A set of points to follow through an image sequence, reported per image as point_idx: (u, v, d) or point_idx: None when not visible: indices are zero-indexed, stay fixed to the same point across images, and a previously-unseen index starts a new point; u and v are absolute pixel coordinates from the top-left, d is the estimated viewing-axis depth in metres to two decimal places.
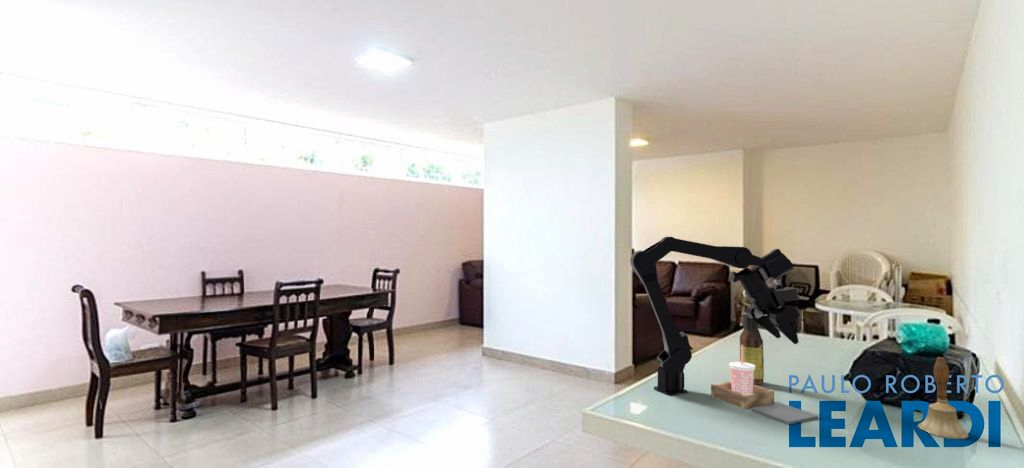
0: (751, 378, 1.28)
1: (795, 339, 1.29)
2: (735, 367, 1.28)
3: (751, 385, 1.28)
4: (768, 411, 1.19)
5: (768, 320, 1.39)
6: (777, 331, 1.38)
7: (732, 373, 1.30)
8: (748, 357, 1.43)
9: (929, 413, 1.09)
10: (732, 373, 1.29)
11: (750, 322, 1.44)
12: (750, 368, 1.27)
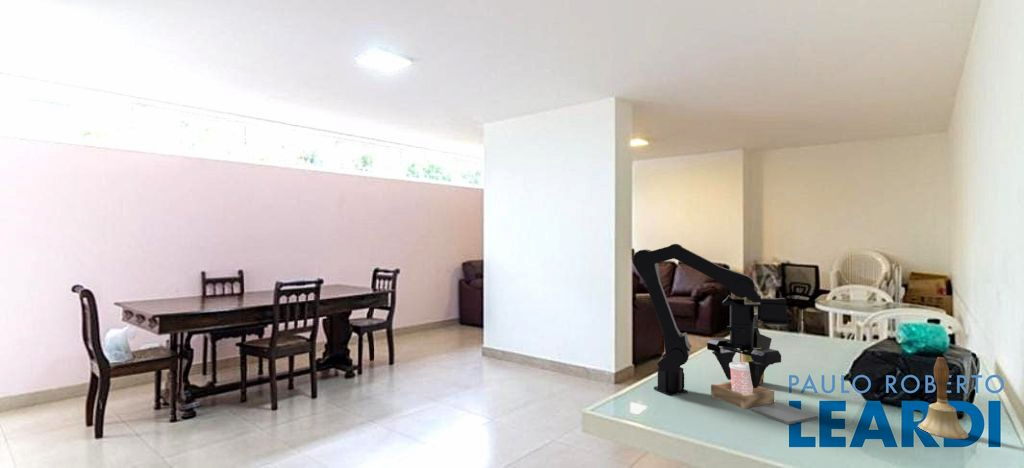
0: None
1: (757, 384, 1.26)
2: (735, 367, 1.28)
3: (751, 385, 1.28)
4: (768, 411, 1.19)
5: (728, 359, 1.34)
6: None
7: (732, 373, 1.30)
8: (748, 357, 1.43)
9: (929, 413, 1.09)
10: (732, 373, 1.29)
11: None
12: None
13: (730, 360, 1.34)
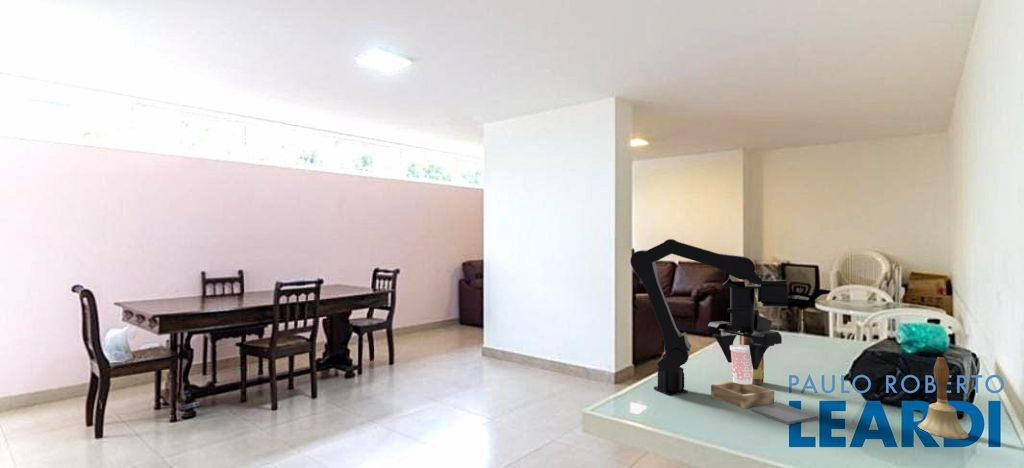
0: None
1: (757, 365, 1.26)
2: (737, 350, 1.28)
3: (752, 367, 1.28)
4: (768, 411, 1.19)
5: (729, 342, 1.34)
6: None
7: (733, 356, 1.29)
8: None
9: (929, 413, 1.09)
10: (734, 356, 1.29)
11: None
12: None
13: (731, 343, 1.34)
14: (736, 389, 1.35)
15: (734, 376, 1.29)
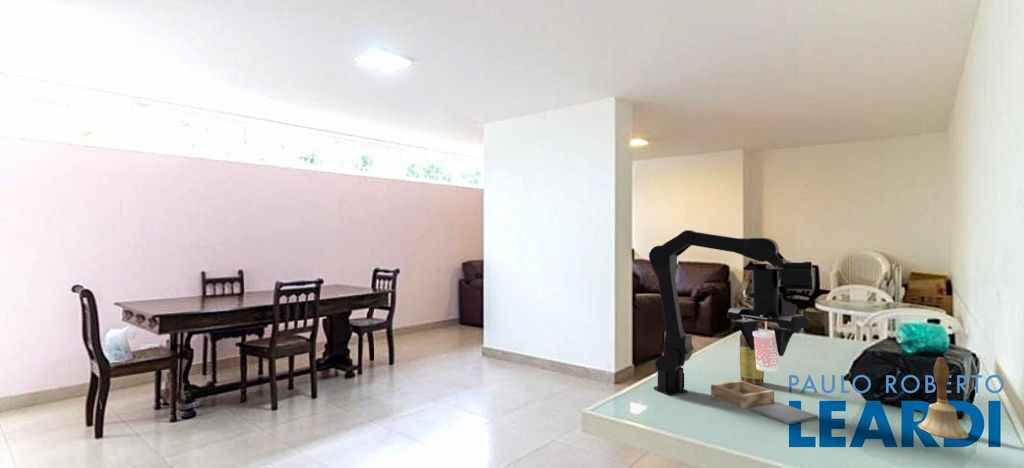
0: None
1: (783, 351, 1.20)
2: (763, 335, 1.21)
3: None
4: (768, 411, 1.19)
5: (751, 328, 1.28)
6: None
7: (758, 342, 1.23)
8: (748, 357, 1.43)
9: (929, 413, 1.09)
10: (759, 342, 1.22)
11: None
12: None
13: (753, 329, 1.28)
14: (736, 389, 1.35)
15: (759, 364, 1.23)
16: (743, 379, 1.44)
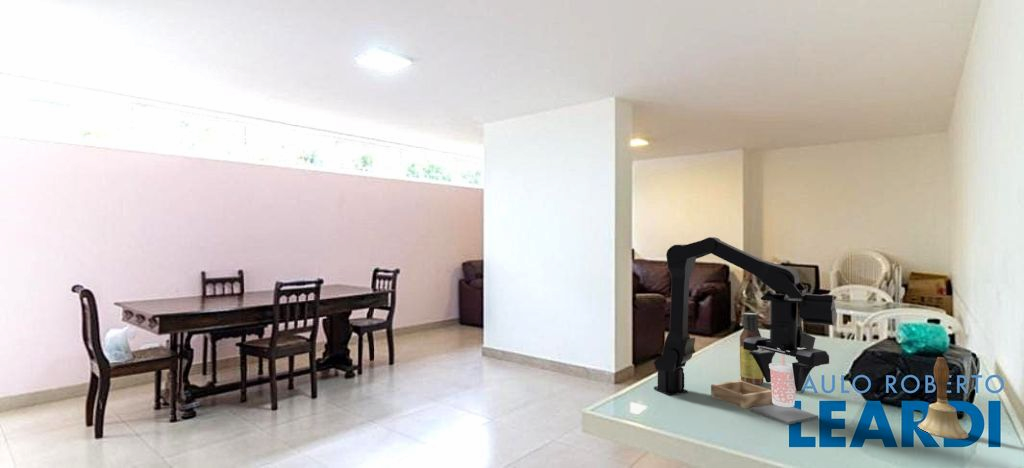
0: None
1: (801, 387, 1.15)
2: (780, 369, 1.17)
3: (795, 388, 1.18)
4: (768, 411, 1.19)
5: (767, 360, 1.23)
6: (770, 375, 1.23)
7: (775, 376, 1.18)
8: (748, 357, 1.43)
9: (929, 413, 1.09)
10: (775, 376, 1.18)
11: (750, 322, 1.44)
12: None
13: (770, 361, 1.23)
14: (736, 389, 1.35)
15: (775, 398, 1.18)
16: (743, 379, 1.44)
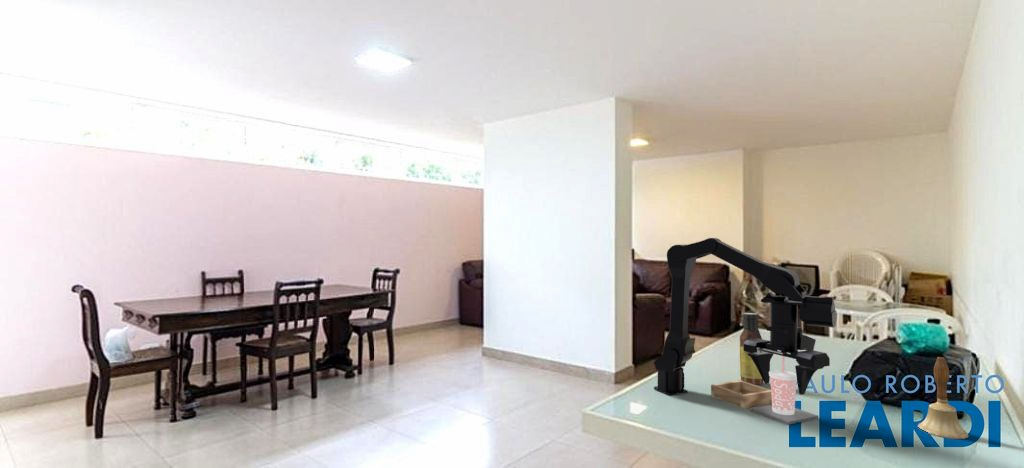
0: (786, 389, 1.17)
1: (804, 390, 1.14)
2: (769, 374, 1.20)
3: (788, 397, 1.17)
4: (768, 411, 1.19)
5: (765, 361, 1.24)
6: (768, 376, 1.23)
7: None
8: (748, 357, 1.43)
9: (929, 413, 1.09)
10: None
11: (750, 322, 1.44)
12: (783, 377, 1.16)
13: (768, 362, 1.24)
14: (736, 389, 1.35)
15: None
16: (743, 379, 1.44)
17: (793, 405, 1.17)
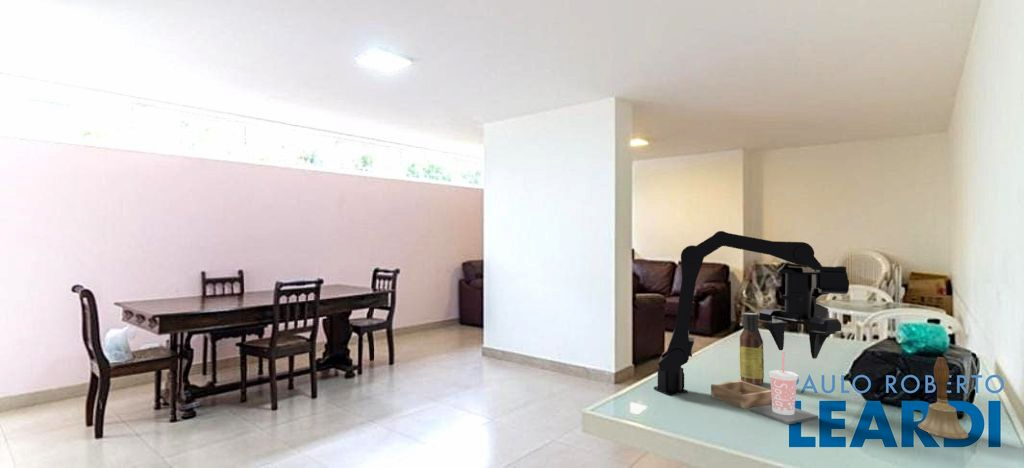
0: (786, 389, 1.17)
1: (816, 354, 1.22)
2: (769, 374, 1.20)
3: (788, 397, 1.17)
4: (768, 411, 1.19)
5: (780, 329, 1.31)
6: (782, 343, 1.31)
7: None
8: (748, 357, 1.43)
9: (929, 413, 1.09)
10: None
11: (750, 322, 1.44)
12: (783, 377, 1.16)
13: (782, 330, 1.31)
14: (736, 389, 1.35)
15: None
16: (743, 379, 1.44)
17: (793, 405, 1.17)
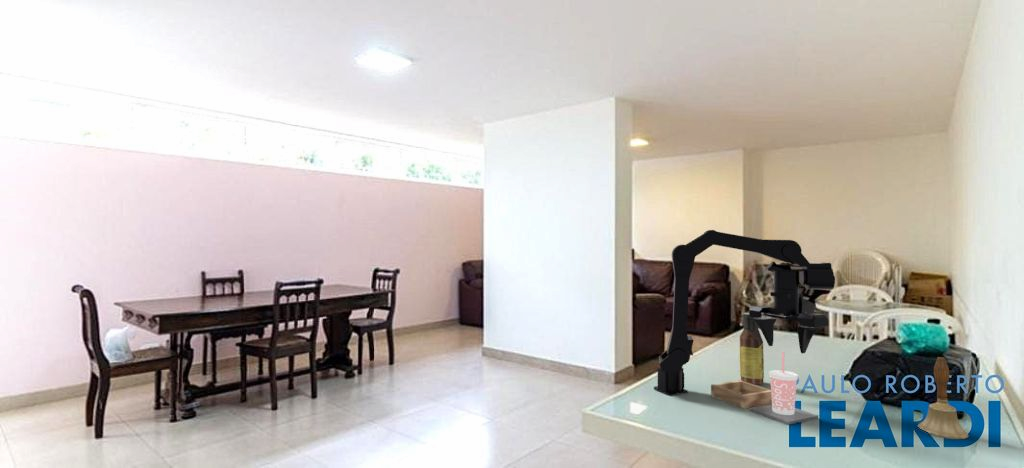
0: (786, 389, 1.17)
1: (805, 349, 1.25)
2: (769, 374, 1.20)
3: (788, 397, 1.17)
4: (768, 411, 1.19)
5: (769, 325, 1.34)
6: (772, 339, 1.34)
7: None
8: (748, 357, 1.43)
9: (929, 413, 1.09)
10: None
11: (750, 322, 1.44)
12: (783, 377, 1.16)
13: (771, 326, 1.34)
14: (736, 389, 1.35)
15: None
16: (743, 379, 1.44)
17: (793, 405, 1.17)
